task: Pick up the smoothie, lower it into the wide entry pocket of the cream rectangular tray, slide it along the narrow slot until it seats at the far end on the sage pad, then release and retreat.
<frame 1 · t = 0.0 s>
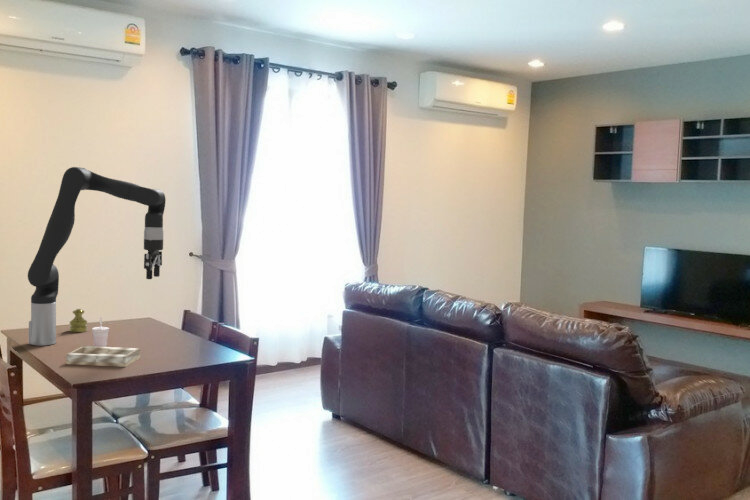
hand: (152, 277, 275), 29 cm above the table, fingers open, 8 cm apart
olive green stacked toy: (78, 331, 304), on the table
smoothie: (100, 352, 267), on the table
cream rectangular tray: (104, 360, 254), on the table
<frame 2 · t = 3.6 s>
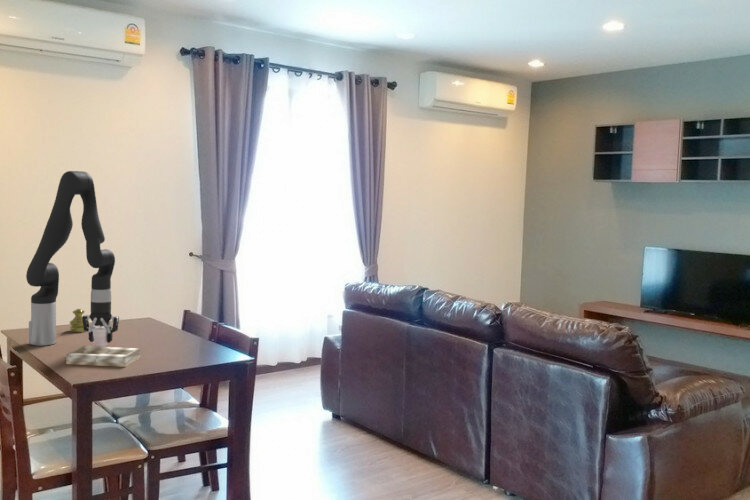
hand: (100, 341, 267), 4 cm above the table, fingers closed on smoothie, 6 cm apart
smoothie: (100, 352, 267), on the table, touching gripper
everything else where it was.
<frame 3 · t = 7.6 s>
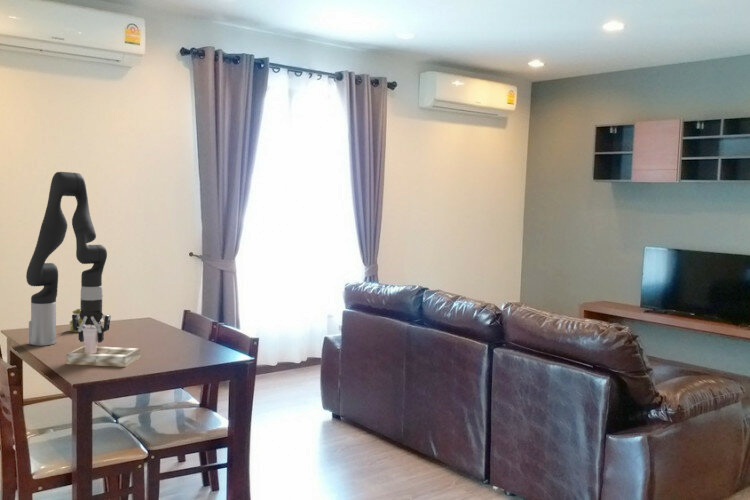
hand: (91, 341, 253), 7 cm above the table, fingers closed on smoothie, 6 cm apart
smoothie: (91, 353, 254), point 3 cm above the table, touching gripper
everything else where it was.
when the fingers open (6 cm above the table, at t = 11.9 s): smoothie stays where it is, resting on cream rectangular tray.
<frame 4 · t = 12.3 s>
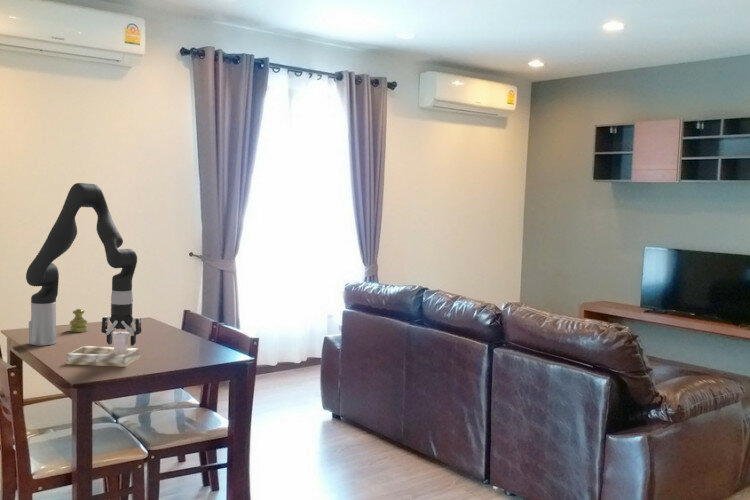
hand: (121, 344, 253), 6 cm above the table, fingers open, 8 cm apart
smoothie: (120, 358, 254), point 1 cm above the table, touching cream rectangular tray
everything else where it was.
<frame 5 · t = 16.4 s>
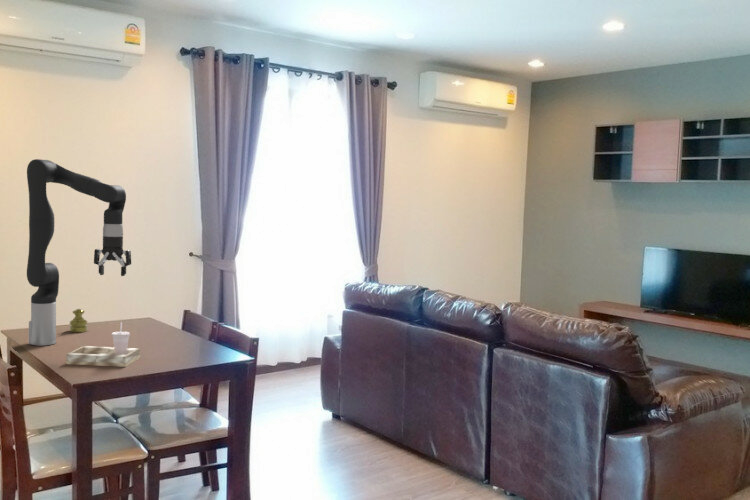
hand: (112, 275, 271), 30 cm above the table, fingers open, 8 cm apart
nothing on the table moved.
at the end: smoothie 0.3 cm from the target spot on the cream rectangular tray, point 1.1 cm above the cream rectangular tray's base; smoothie tilted 0°; the gripper is holding nothing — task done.
